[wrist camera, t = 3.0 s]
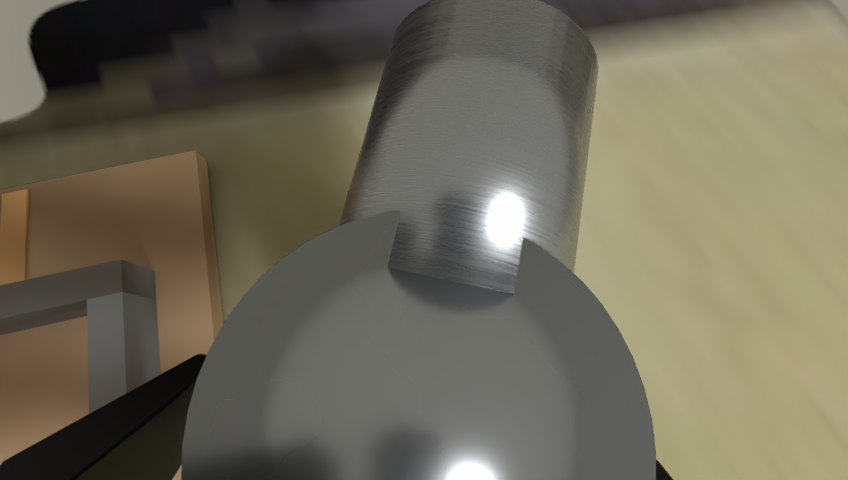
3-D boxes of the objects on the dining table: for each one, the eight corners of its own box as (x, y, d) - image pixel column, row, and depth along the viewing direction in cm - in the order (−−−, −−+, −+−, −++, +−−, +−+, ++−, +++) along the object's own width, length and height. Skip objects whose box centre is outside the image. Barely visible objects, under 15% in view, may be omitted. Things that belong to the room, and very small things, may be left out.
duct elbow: (482, 489, 16) (646, 820, 4) (326, 451, 16) (87, 664, 5) (522, 237, 19) (690, 23, 7) (388, 209, 19) (336, -39, 7)
